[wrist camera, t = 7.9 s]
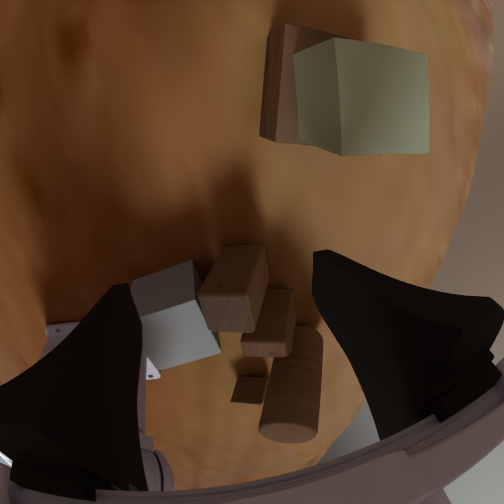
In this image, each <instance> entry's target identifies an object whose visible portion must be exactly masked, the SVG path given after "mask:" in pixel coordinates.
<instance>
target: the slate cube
mask: <svg viewBox="0 0 504 504" xmlns="http://www.w3.org/2000/svg"><path fill="white" fill-rule="evenodd" d="M201 285H202V281H201V279H200V277H199V274H198V272H197V270H196V268H195V265H194V263H193V260H189V261H187V262H184V263H181V264H178V265H175V266H172V267H169V268H166V269H164V270H161V271H158V272H155V273H152V274H149V275H146V276H144V277H141V278H138V279H135V280H132V284H131V288H130V292H131V295H132V298H133V300H134V303H135V306H136V309H137V312H138V314H139V317H140V320H141V322H142V350H143V352H144V353H145V354H146V356H147V357H148V358H149V360H150V361H151V362H152V364H153V365H154V366H155V368H156V369H157V370H162V369H166V368H170V367H174V366H177V365H181V364H184V363H188V362H191V361H195V360H198V359H202V358H205V357H209V356H212V355H215V354H218V353H222V351H221V345H220V340H219V335H218V332H214V331H210V330H208V328H207V325H206V322H205V319H204V316H203V313H202V309H201V306H200V303H199V300H198V297H197V294H198V291H199V289H200V287H201Z"/></svg>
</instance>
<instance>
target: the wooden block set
mask: <svg viewBox="0 0 504 504" xmlns="http://www.w3.org/2000/svg"><path fill="white" fill-rule="evenodd" d="M269 278H270V276H269V270H268V263H267V257H266V250H265V247H264V245H263V244H248V245H230V246H226V247H224V248H223V250H222V252H221V253H220V255H219V257H218V258H217V260H216V262H215V263H214V265H213V267H212V269H211V270H210V272H209V274H208V275H207V277H206V279H205V280H204V282H203V284H202V285H201V287H200V289H199V291H198V294H197V297H198V300H199V303H200V306H201V309H202V313H203V316H204V319H205V322H206V325H207V328H208V330H210V331H214V332H238V333H243V334H242V337H241V340H240V341H241V345H242V349H243V353H244V355H246V356H254V357H274V359H273V364H272V368H271V373H270V378H269V382H268V380H267V378H262V377H245V376H239V377H238V379H237V382H236V385H235V388H234V392H233V395H232V398H231V402H235V403H246V404H258V405H261V404H262V403H263V402H264V405H263V410H262V414H261V418H260V423H259V432H260V433H261V435H263V436H264V437H266V438H268V439H270V440H273V441H277V442H282V443H302V442H307V441H310V440H312V439H313V438H315V436H316V434H317V432H318V421H319V409H320V395H321V379H322V359H323V338H322V336H321V334H320V333H319V332H318V331H317V330H315V329H313V328H311V327H307V326H295V322H296V307H295V296H294V291H293V289H292V288H279V289H267V285H268V282H269Z"/></svg>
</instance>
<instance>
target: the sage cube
mask: <svg viewBox="0 0 504 504" xmlns="http://www.w3.org/2000/svg"><path fill="white" fill-rule="evenodd" d="M293 62H294V72H295V83H296V95H297V107H298V121H299V136H300V141H302V142H305V143H308V144H310V145H313V146H316V147H319V148H322V149H324V150H327V151H330V152H332V153H335V154H338V155H340V156H351V155H371V154H410V153H429V82H428V68H427V56H426V54H423V53H419V52H415V51H411V50H407V49H402V48H398V47H393V46H388V45H383V44H377V43H372V42H365V41H359V40H351V39H343V38H332V39H329V40H326V41H324V42H321V43H319V44H317V45H314V46H312V47H309V48H307V49H305V50H302V51H300V52H298V53H296V54H294V55H293Z"/></svg>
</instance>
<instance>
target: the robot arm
mask: <svg viewBox="0 0 504 504" xmlns="http://www.w3.org/2000/svg"><path fill="white" fill-rule="evenodd" d="M312 296H313V299H314V301H315V303H316V306H317V308H318V310H319V312H320V314H321V316H322V317H323V319H324V321H325V322H326V324H327V325H328V327H329V329H330V330H331V332H332V333H333V335H334V337H335V338H336V340H337V341H338V343H339V344H340V346H341V348H342V349H343V351H344V352H345V354H346V356H347V358H348V359H349V361H350V363H351V365H352V367H353V369H354V372H355V374H356V376H357V378H358V380H359V383H360V385H361V388H362V390H363V392H364V395H365V397H366V400H367V402H368V405H369V408H370V411H371V413H372V416H373V419H374V422H375V425H376V428H377V432H378V435H379V438H380V441H379V442H376V443H374V444H372V445H370V446H367V447H365V448H362V449H360V450H357V451H355V452H352V453H349V454H347V455H344V456H341V457H338V458H336V459H333V460H330V461H327V462H324V463H321V464H318V465H314V466H311V467H308V468H304V469H301V470H297V471H294V472H290V473H286V474H282V475H278V476H274V477H269V478H265V479H260V480H255V481H250V482H244V483H239V484H232V485H226V486H219V487H211V488H202V489H191V490H177V491H174V477H173V473H172V469H171V467H170V465H169V463H168V461H167V459H166V458H165V456H164V455H163V454H162V453H161V452H159V451H156V450H154V441H153V437H150V436H147V435H145V402H146V380H148V379H157V378H160V376H161V373H160V371H159V370H157V369H156V368H155V366H154V365H153V364H152V362H151V361H150V360H149V358H148V357H147V356H146V354H145V353H144V352H143V350H142V322H141V320H140V317H139V314H138V312H137V309H136V306H135V303H134V300H133V298H132V295H131V292H130V289H129V286H128V283H124V284H118V285H113V286H112V287H111V288H110V289H109V290H108V291H107V292H106V293H105V294H104V295H103V296H102V298H101V299H100V300H99V301H98V302H97V303H96V305H95V306H94V307H93V308H92V309H91V310H90V312H89V313H88V314H87V315H86V316H85V317H84V318H83V319H82V321H80V322H71V323H62V324H53V325H47V326H46V327H45V332H46V334H47V336H48V338H47V341H46V343H45V346H44V348H43V351H42V353H41V356H40V359H39V361H38V362H37V363H35V364H34V365H33V366H31V367H30V368H29V369H27V370H26V371H24V372H23V373H21V374H20V375H18V376H17V377H15V378H13V379H12V380H10V381H8V382H7V383H5V384H3V385H1V386H0V451H1V452H2V453H3V454H5V455H6V456H7V457H8V458H10V459H11V460H12V461H13V462H12V468H11V467H9V466H7V465H4V464H2V463H0V504H451V502H450V501H449V499H448V497H447V496H446V493H445V492H444V490H443V488H444V487H445V486H447V485H448V484H450V483H451V482H452V481H454V480H455V479H457V478H458V477H459V476H461V475H462V474H464V473H465V472H466V471H467V470H469V469H470V468H471V467H473V466H474V465H475V464H477V463H478V462H479V461H480V460H481V459H483V458H484V457H485V456H486V455H487V454H489V453H490V452H491V451H492V450H493V449H494V448H495V447H496V446H498V445H499V444H500V443H501V442H502V441H503V440H504V358H503V359H502V360H501V361H500V362H499V363H498V364H497V365H496V366H495V365H494V364H493V363H492V360H493V358H494V355H493V354H492V352H491V351H490V348H491V346H492V344H493V343H494V341H495V339H496V337H497V335H498V333H499V331H500V329H501V327H502V324H503V321H504V310H503V308H502V307H501V306H500V305H499V304H498V303H496V302H495V301H494V300H493V299H492V298H490V297H480V296H464V295H457V294H450V293H445V292H439V291H435V290H430V289H426V288H422V287H418V286H415V285H412V284H409V283H406V282H403V281H399V280H397V279H394V278H391V277H389V276H387V275H384V274H382V273H379V272H377V271H375V270H372V269H370V268H368V267H366V266H364V265H362V264H359V263H357V262H355V261H353V260H351V259H349V258H347V257H345V256H343V255H340V254H338V253H336V252H333V251H331V250H328V249H327V250H321V251H315V252H313V277H312ZM58 329H59V330H58Z"/></svg>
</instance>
